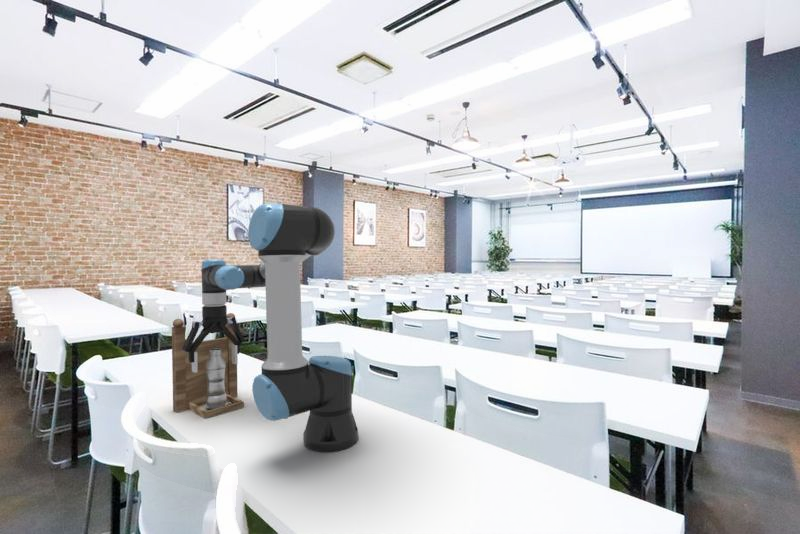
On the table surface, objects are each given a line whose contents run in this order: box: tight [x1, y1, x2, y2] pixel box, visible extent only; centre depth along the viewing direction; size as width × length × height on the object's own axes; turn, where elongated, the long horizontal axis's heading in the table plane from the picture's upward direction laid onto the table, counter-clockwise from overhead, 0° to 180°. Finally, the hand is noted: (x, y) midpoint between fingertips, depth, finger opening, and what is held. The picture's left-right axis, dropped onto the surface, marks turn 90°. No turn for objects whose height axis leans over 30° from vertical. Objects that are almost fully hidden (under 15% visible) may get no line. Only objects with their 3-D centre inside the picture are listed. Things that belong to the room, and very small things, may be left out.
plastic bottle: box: [205, 348, 227, 410], centre depth 140 cm, size 6×7×20 cm
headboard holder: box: [171, 312, 245, 419], centre depth 140 cm, size 15×21×31 cm
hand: (215, 367), depth 140 cm, fingers open, 13 cm apart
